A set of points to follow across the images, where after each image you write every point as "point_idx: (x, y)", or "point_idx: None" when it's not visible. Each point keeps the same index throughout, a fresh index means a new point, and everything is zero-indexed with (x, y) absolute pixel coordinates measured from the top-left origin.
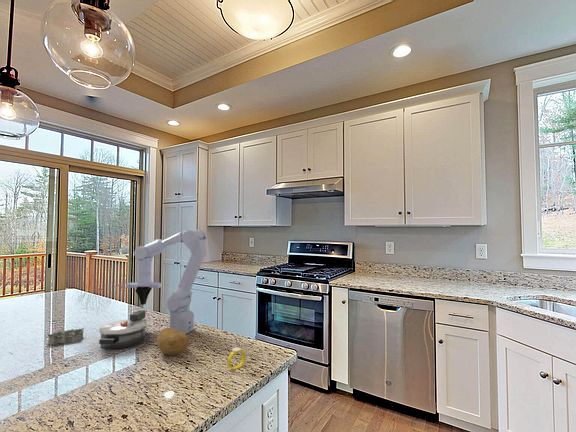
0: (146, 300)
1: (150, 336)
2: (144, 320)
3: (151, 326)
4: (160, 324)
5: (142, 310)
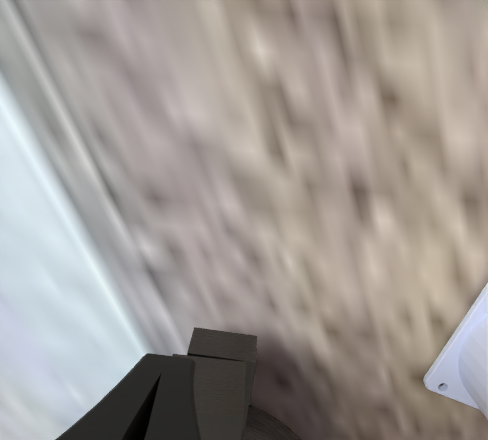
0: (193, 394)
1: (335, 425)
2: (252, 381)
3: (272, 216)
4: (337, 166)
5: (205, 414)
